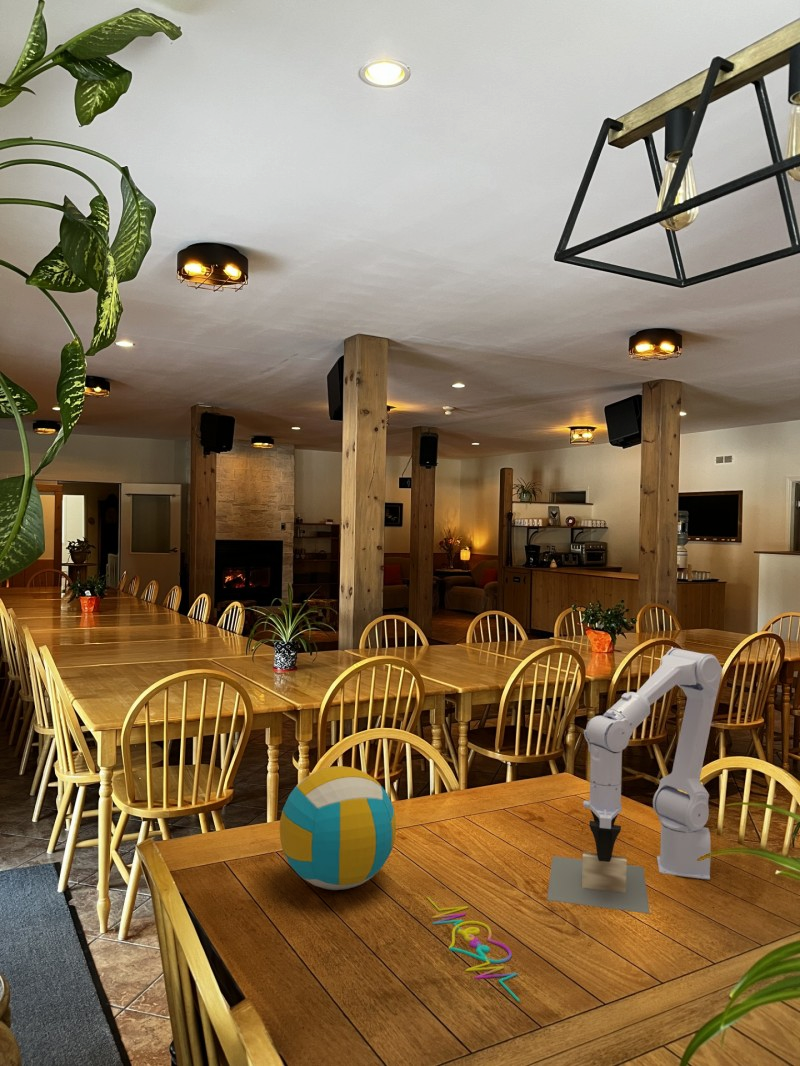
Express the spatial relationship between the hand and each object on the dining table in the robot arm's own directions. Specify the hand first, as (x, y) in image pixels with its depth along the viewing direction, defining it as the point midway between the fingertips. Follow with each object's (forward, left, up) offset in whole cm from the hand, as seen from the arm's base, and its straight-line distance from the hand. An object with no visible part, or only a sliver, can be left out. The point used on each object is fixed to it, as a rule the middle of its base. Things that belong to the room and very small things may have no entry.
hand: (604, 852), depth 152 cm
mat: (+1, -2, -7) cm, 7 cm away
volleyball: (+49, +12, -7) cm, 51 cm away
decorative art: (+21, +26, -8) cm, 34 cm away
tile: (0, 0, -7) cm, 7 cm away
